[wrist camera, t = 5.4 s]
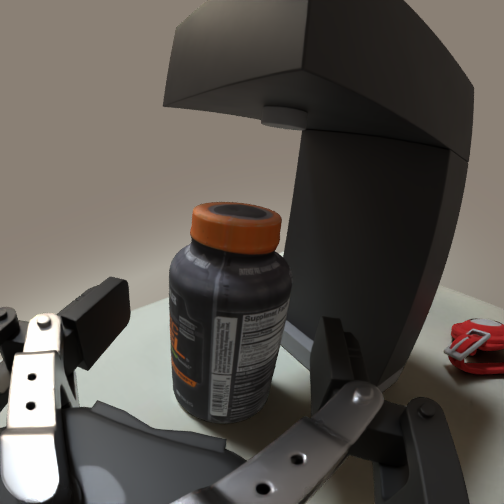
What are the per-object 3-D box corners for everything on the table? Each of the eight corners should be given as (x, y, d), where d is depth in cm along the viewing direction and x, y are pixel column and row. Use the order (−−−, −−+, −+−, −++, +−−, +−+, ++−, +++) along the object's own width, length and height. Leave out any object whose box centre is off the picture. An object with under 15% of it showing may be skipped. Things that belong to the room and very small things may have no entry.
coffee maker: (235, 479, 11) (314, -69, 4) (157, 352, 19) (176, 27, 12) (396, 380, 18) (474, 87, 11) (304, 314, 27) (344, 81, 20)
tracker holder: (450, 310, 27) (523, 318, 21) (443, 346, 27) (514, 355, 21) (448, 331, 18) (551, 341, 12) (435, 383, 18) (535, 394, 12)
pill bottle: (169, 362, 19) (169, 193, 15) (252, 356, 20) (275, 199, 17) (179, 431, 13) (174, 224, 9) (281, 418, 15) (330, 230, 11)
